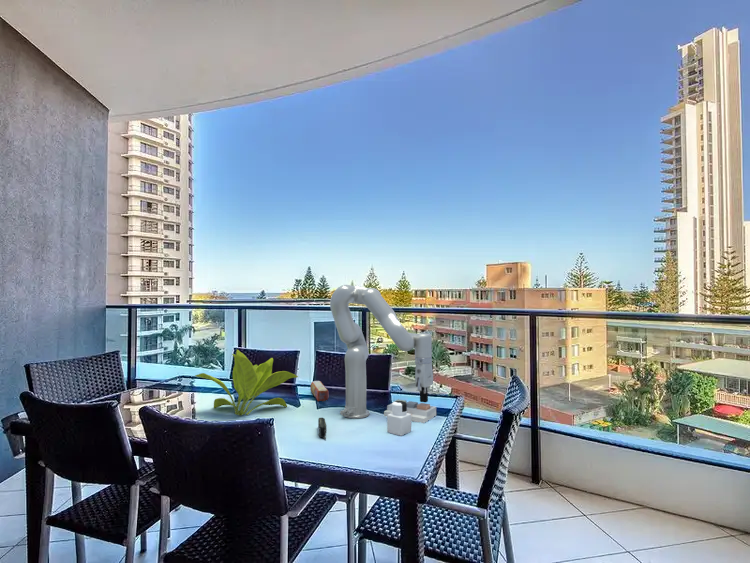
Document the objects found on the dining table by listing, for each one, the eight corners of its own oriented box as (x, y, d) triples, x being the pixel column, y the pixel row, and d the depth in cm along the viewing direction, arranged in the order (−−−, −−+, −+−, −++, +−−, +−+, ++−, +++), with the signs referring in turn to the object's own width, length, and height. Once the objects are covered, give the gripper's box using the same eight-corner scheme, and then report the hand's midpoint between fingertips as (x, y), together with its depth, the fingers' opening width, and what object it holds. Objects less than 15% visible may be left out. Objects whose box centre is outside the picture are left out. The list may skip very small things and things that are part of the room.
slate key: (413, 409, 183) (413, 404, 183) (405, 407, 185) (405, 403, 185) (418, 406, 187) (418, 402, 187) (409, 405, 189) (409, 401, 189)
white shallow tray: (424, 423, 174) (424, 413, 174) (383, 415, 184) (383, 407, 184) (436, 415, 185) (436, 406, 185) (397, 409, 195) (397, 400, 195)
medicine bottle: (397, 427, 168) (397, 398, 168) (411, 431, 164) (411, 401, 164) (386, 432, 163) (386, 402, 163) (401, 436, 158) (401, 405, 158)
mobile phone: (317, 416, 168) (319, 427, 154) (324, 416, 169) (327, 426, 154) (317, 428, 168) (319, 440, 153) (324, 428, 169) (327, 440, 154)
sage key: (402, 407, 186) (402, 402, 186) (393, 405, 188) (393, 401, 188) (406, 404, 190) (406, 400, 190) (398, 403, 192) (398, 399, 192)
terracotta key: (425, 411, 180) (425, 406, 180) (417, 409, 182) (416, 405, 182) (430, 408, 183) (430, 404, 183) (421, 407, 186) (421, 402, 186)
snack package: (329, 401, 210) (329, 388, 210) (316, 402, 208) (316, 389, 208) (321, 392, 230) (321, 380, 230) (310, 392, 228) (310, 380, 228)
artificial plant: (301, 427, 187) (314, 367, 205) (235, 392, 158) (257, 325, 176) (235, 431, 206) (252, 376, 224) (166, 400, 177) (192, 339, 194)
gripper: (424, 364, 175) (424, 406, 174) (437, 359, 188) (438, 399, 187) (408, 362, 179) (408, 404, 178) (422, 357, 192) (423, 397, 191)
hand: (423, 401), depth 183 cm, fingers closed
